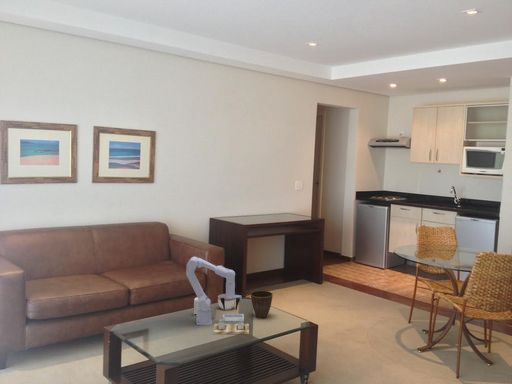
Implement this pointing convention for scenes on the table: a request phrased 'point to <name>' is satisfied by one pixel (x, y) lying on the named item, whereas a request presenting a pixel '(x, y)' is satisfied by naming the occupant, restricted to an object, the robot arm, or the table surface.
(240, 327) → the loose billet
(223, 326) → the block
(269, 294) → the plant pot
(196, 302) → the photo printer
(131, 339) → the table surface
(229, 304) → the lidded bowl
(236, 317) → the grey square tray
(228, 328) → the wooden frame board
